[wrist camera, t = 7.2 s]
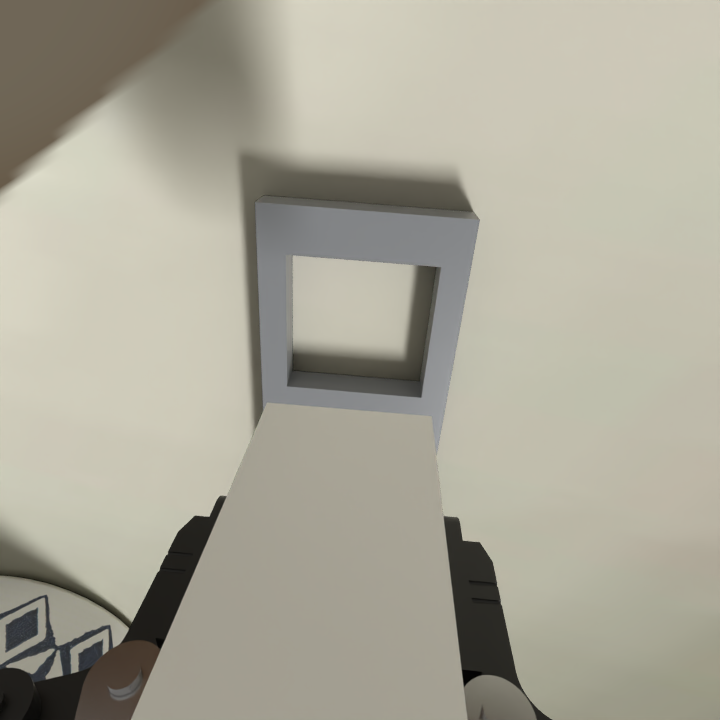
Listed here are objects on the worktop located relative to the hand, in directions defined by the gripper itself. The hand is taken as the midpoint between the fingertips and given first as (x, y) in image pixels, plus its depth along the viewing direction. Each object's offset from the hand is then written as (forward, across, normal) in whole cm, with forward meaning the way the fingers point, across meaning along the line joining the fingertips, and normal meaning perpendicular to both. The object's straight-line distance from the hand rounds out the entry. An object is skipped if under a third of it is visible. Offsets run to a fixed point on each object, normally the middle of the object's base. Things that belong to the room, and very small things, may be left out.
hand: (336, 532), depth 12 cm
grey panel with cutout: (+12, 0, +3) cm, 13 cm away
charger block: (+2, 0, 0) cm, 2 cm away
